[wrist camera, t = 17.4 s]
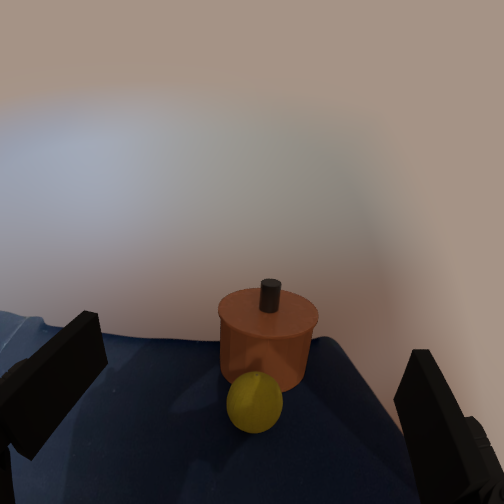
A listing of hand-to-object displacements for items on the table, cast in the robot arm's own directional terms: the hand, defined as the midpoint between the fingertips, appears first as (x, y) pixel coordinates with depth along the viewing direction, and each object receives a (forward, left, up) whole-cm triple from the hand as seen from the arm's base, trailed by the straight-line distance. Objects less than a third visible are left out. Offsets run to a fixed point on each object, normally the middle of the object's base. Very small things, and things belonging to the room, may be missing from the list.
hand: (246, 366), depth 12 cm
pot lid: (+9, -23, -11) cm, 27 cm away
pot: (+9, -23, -19) cm, 31 cm away
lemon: (+5, -12, -20) cm, 23 cm away
